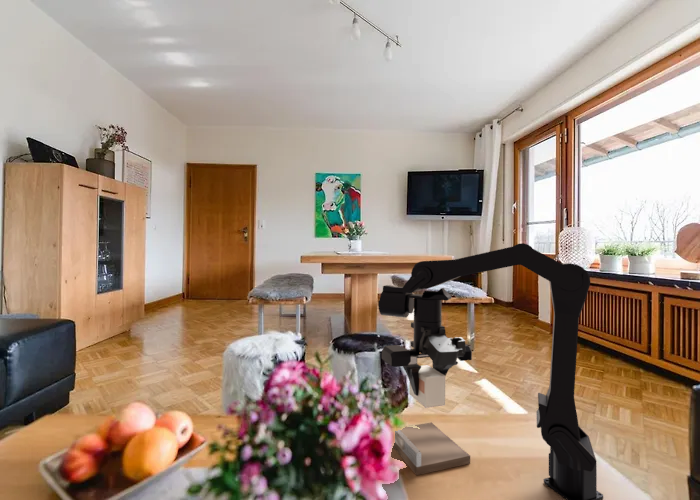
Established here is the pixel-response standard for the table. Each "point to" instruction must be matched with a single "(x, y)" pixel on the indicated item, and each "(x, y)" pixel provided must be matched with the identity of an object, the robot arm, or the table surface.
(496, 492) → the table surface
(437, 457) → the shelf board
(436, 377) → the carton
